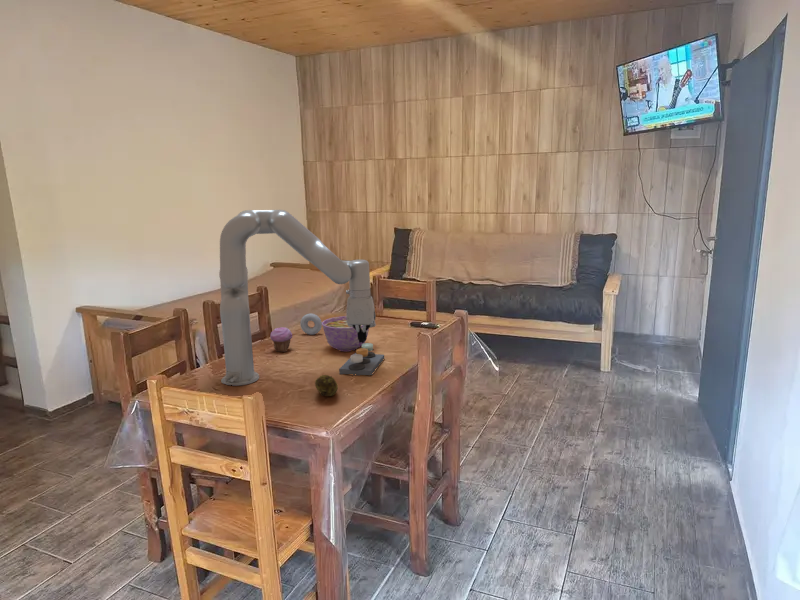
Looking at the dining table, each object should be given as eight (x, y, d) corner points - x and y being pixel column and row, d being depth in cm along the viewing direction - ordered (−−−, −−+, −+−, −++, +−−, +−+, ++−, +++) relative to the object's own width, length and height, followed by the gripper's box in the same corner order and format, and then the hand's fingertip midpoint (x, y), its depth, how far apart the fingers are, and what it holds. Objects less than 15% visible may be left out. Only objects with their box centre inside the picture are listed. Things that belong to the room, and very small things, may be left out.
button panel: (370, 376, 201) (370, 369, 200) (338, 374, 204) (338, 367, 203) (384, 359, 220) (384, 352, 219) (355, 357, 223) (355, 351, 222)
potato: (344, 389, 190) (343, 366, 188) (334, 404, 177) (333, 380, 175) (320, 388, 191) (319, 366, 189) (309, 403, 178) (307, 379, 177)
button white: (360, 363, 202) (360, 358, 201) (349, 362, 203) (348, 357, 202) (364, 359, 206) (364, 354, 205) (352, 358, 207) (352, 353, 206)
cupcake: (267, 353, 231) (266, 329, 229) (277, 347, 239) (275, 324, 237) (287, 354, 229) (286, 330, 227) (296, 348, 237) (295, 325, 235)
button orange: (366, 357, 208) (366, 352, 208) (354, 356, 209) (354, 351, 209) (369, 353, 212) (369, 348, 212) (358, 353, 213) (358, 348, 213)
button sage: (371, 351, 215) (371, 346, 214) (360, 351, 216) (360, 346, 215) (374, 348, 219) (374, 343, 219) (363, 347, 220) (363, 342, 220)
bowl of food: (377, 352, 229) (376, 324, 227) (330, 358, 222) (328, 330, 220) (362, 339, 247) (361, 314, 245) (318, 345, 240) (316, 319, 238)
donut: (299, 335, 256) (298, 314, 254) (301, 333, 259) (300, 312, 257) (321, 335, 255) (320, 314, 253) (323, 333, 258) (322, 312, 256)
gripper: (337, 295, 204) (340, 343, 208) (377, 296, 201) (379, 345, 205) (344, 291, 211) (346, 338, 215) (382, 291, 208) (384, 339, 212)
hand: (362, 341), depth 210 cm, fingers closed
